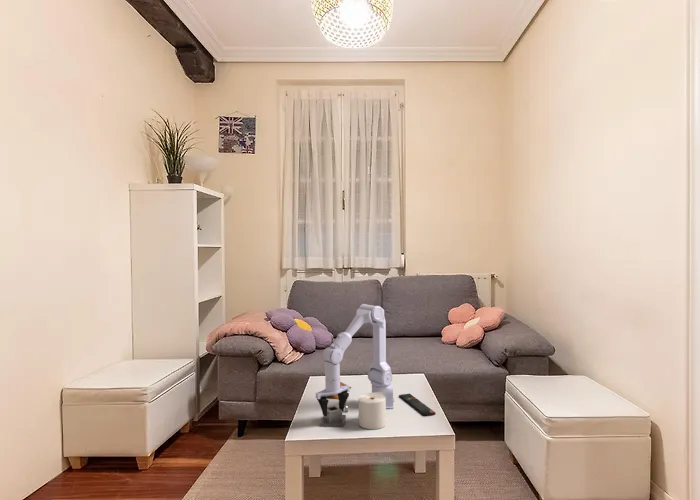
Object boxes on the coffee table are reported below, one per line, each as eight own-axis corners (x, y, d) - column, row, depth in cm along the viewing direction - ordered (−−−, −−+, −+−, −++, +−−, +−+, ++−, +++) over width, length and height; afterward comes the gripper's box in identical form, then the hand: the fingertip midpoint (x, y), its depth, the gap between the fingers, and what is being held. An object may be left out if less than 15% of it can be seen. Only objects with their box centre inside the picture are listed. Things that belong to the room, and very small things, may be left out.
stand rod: (348, 411, 176) (347, 405, 176) (347, 412, 174) (347, 406, 174) (344, 411, 176) (344, 405, 176) (344, 412, 175) (344, 406, 175)
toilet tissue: (358, 429, 158) (358, 403, 158) (359, 416, 170) (358, 391, 170) (387, 429, 158) (386, 403, 158) (385, 416, 170) (385, 391, 170)
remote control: (409, 396, 193) (409, 393, 193) (436, 416, 170) (436, 413, 170) (399, 397, 192) (399, 394, 192) (424, 418, 169) (424, 414, 169)
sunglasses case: (339, 399, 189) (332, 386, 190) (327, 406, 191) (319, 393, 192) (352, 386, 206) (345, 374, 207) (340, 393, 208) (333, 380, 209)
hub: (346, 417, 170) (345, 408, 170) (343, 426, 161) (343, 417, 161) (323, 416, 171) (323, 408, 170) (320, 426, 162) (320, 417, 162)
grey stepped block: (336, 414, 170) (336, 404, 170) (342, 419, 165) (342, 409, 165) (323, 417, 167) (323, 407, 167) (329, 422, 162) (328, 412, 162)
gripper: (342, 372, 173) (343, 405, 173) (311, 379, 165) (312, 414, 165) (352, 376, 167) (352, 411, 167) (320, 384, 159) (321, 420, 159)
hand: (333, 413), depth 166 cm, fingers open, 7 cm apart
